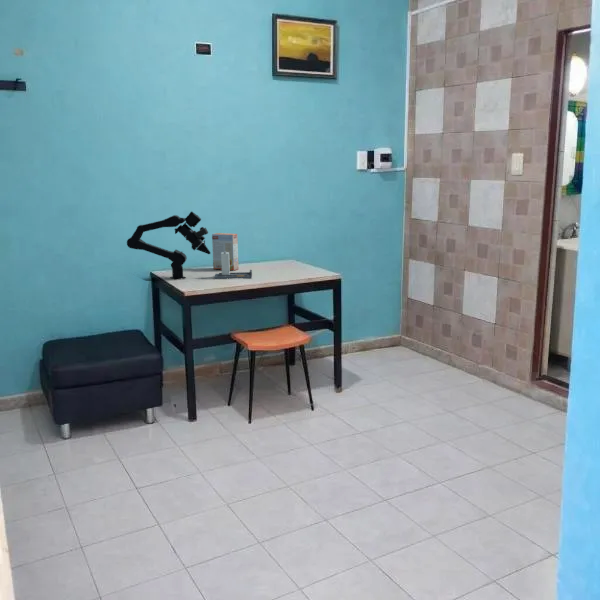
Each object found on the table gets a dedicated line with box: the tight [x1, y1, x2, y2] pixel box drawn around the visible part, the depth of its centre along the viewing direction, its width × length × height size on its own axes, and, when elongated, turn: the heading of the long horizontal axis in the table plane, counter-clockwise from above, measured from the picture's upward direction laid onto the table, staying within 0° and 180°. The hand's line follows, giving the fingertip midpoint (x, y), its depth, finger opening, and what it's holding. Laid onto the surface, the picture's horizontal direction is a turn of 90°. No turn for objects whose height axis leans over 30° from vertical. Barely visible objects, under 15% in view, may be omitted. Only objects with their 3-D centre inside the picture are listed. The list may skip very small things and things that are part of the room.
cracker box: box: [211, 232, 239, 271], centre depth 376 cm, size 14×6×21 cm, turn 65°
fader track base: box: [213, 269, 253, 280], centre depth 353 cm, size 20×10×3 cm, turn 93°
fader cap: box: [221, 251, 231, 275], centre depth 351 cm, size 4×5×13 cm
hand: (209, 253), depth 350 cm, fingers closed
